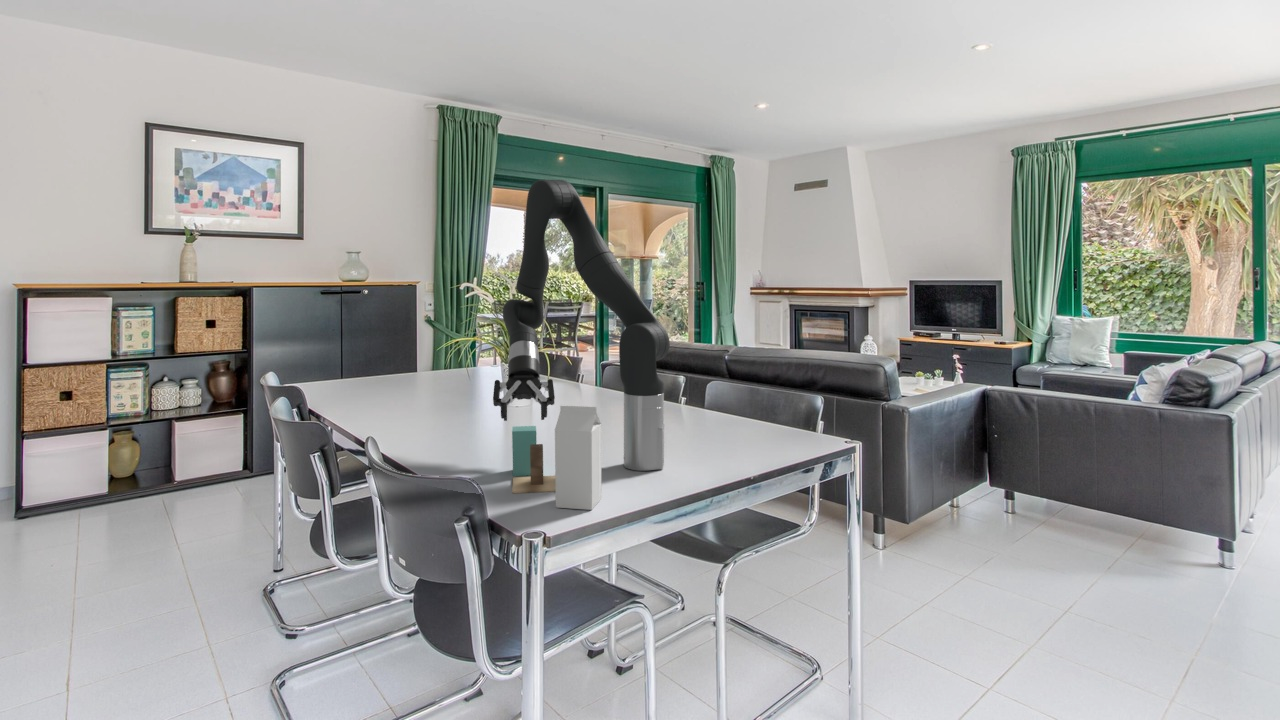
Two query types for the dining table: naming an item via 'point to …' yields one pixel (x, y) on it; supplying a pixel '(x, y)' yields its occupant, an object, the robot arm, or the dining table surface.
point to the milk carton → (578, 457)
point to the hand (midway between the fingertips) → (524, 418)
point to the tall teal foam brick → (522, 449)
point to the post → (534, 475)
